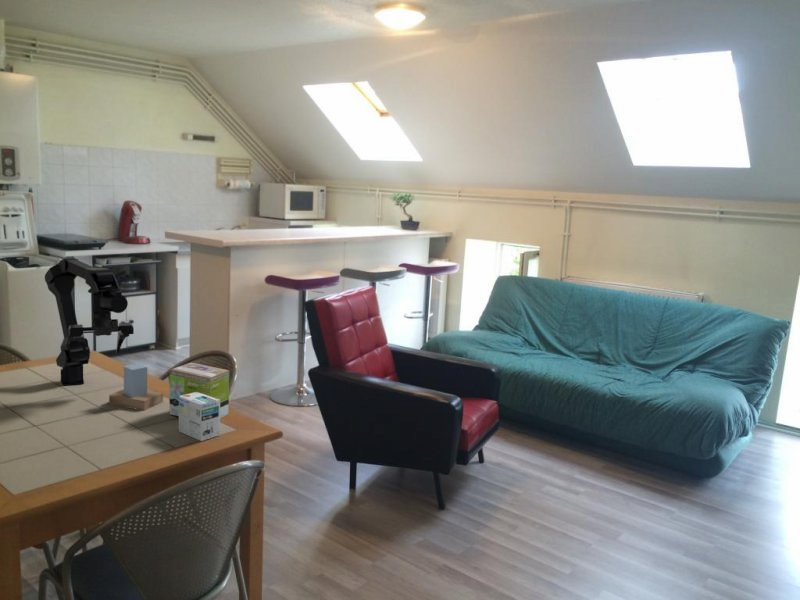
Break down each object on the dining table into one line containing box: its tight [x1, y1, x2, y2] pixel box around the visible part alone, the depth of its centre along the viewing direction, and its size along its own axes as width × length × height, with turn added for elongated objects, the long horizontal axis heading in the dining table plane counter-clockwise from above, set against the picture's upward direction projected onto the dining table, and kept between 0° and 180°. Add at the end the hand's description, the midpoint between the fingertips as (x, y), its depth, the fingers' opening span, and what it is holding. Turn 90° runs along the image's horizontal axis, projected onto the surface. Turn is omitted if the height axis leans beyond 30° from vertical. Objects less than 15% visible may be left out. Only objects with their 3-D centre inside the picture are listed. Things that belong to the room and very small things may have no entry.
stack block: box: [108, 388, 164, 412], centre depth 209 cm, size 9×13×4 cm
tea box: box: [168, 361, 230, 419], centre depth 201 cm, size 15×10×15 cm, turn 68°
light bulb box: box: [178, 392, 221, 442], centre depth 187 cm, size 11×7×11 cm, turn 54°
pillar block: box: [123, 363, 148, 398], centre depth 207 cm, size 5×5×9 cm
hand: (101, 355), depth 213 cm, fingers open, 9 cm apart
